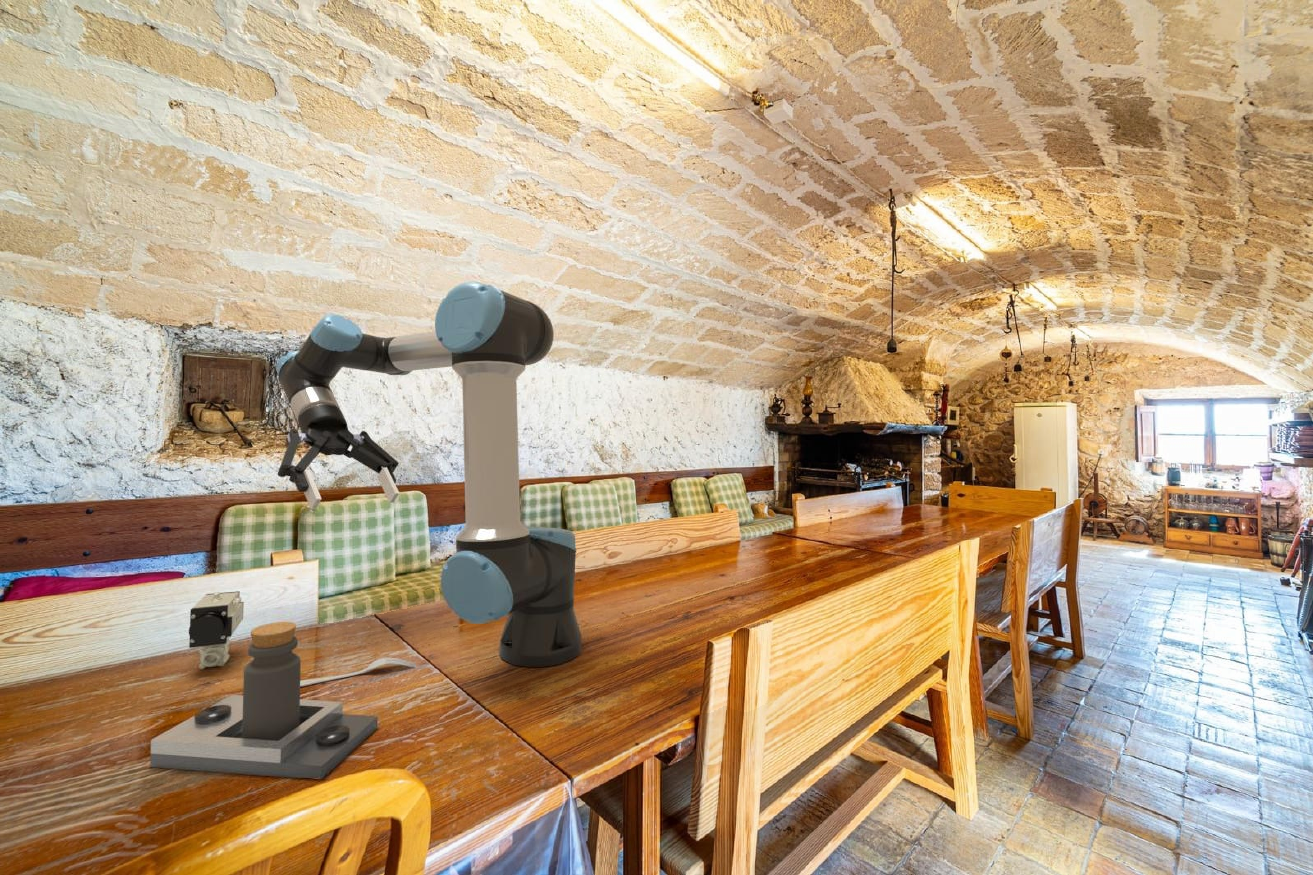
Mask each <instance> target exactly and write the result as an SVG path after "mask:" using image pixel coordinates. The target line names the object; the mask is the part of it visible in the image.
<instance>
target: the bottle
mask: <svg viewBox="0 0 1313 875" xmlns="http://www.w3.org/2000/svg"><path fill="white" fill-rule="evenodd" d="M296 629H297V624H296V623H294V622H291V621H276V622H271V623H265V624H263V625H262V624H261V625H260V626H256V627H254V628H252V630H251V631H250V637H251V640H252V642H251V643H250V644H249V645H248V648H247V654H248V656H249V657H251V658H253V660H251V661H250V662H249V663H247V664H246V665H245V667H244V670H243V685H242V686H243V688H242V690H243V691H242V696H243V725H242V738H244V739H258V740H272V741H279V740H281V739H282V738H283V737H285V736H286V735H287V734H289V733H290V732H291V731H293V730H294V729H295V728H297V727H298V726H299V712H300V699H301V698H300V697H301V687H300V681H301V662H302V661H301V660H302V659H301V657H300V656H299V655H298V654H296V653H293V650H295V649H296V648H297V647H298V645H299V644H298V643H299V639H298V637H297V636H295V632H296Z"/></svg>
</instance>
